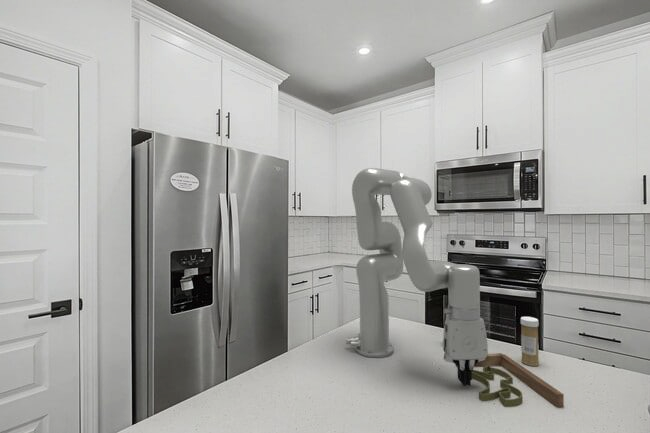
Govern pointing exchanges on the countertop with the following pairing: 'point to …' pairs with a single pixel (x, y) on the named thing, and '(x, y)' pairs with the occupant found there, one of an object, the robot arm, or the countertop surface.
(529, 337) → the sprinkles bottle
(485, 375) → the cookie cutter
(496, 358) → the walnut fence
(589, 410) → the countertop surface
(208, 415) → the countertop surface
